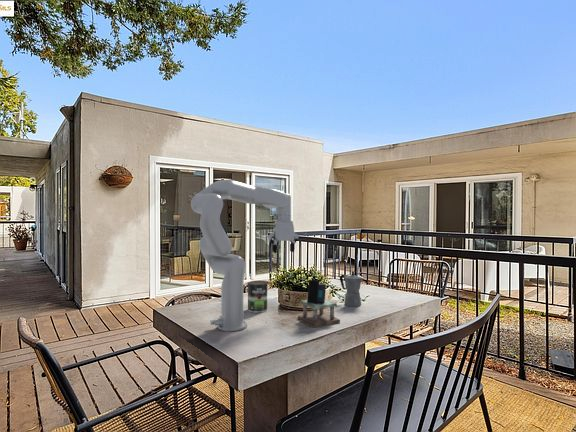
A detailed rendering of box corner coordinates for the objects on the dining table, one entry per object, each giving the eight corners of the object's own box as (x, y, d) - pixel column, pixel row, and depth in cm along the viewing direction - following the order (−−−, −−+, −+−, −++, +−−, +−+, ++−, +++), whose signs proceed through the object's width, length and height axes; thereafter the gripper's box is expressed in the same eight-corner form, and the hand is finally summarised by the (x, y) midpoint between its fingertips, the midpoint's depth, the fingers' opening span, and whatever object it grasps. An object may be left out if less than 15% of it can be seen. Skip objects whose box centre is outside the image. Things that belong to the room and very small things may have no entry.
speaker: (314, 304, 153) (315, 281, 154) (306, 302, 157) (308, 279, 158) (327, 304, 157) (328, 281, 158) (319, 301, 161) (320, 279, 162)
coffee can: (269, 311, 173) (269, 284, 173) (249, 313, 170) (249, 285, 170) (265, 306, 183) (265, 280, 183) (246, 308, 180) (246, 281, 180)
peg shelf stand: (313, 327, 149) (313, 307, 149) (297, 318, 161) (297, 300, 161) (339, 322, 155) (339, 303, 155) (322, 314, 168) (322, 297, 168)
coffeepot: (368, 305, 186) (368, 272, 186) (358, 308, 179) (357, 274, 179) (345, 300, 197) (344, 268, 197) (334, 303, 190) (334, 270, 190)
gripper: (270, 218, 165) (271, 253, 165) (302, 218, 173) (302, 251, 173) (264, 218, 172) (264, 252, 172) (295, 218, 180) (295, 250, 180)
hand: (283, 252), depth 172 cm, fingers open, 9 cm apart
